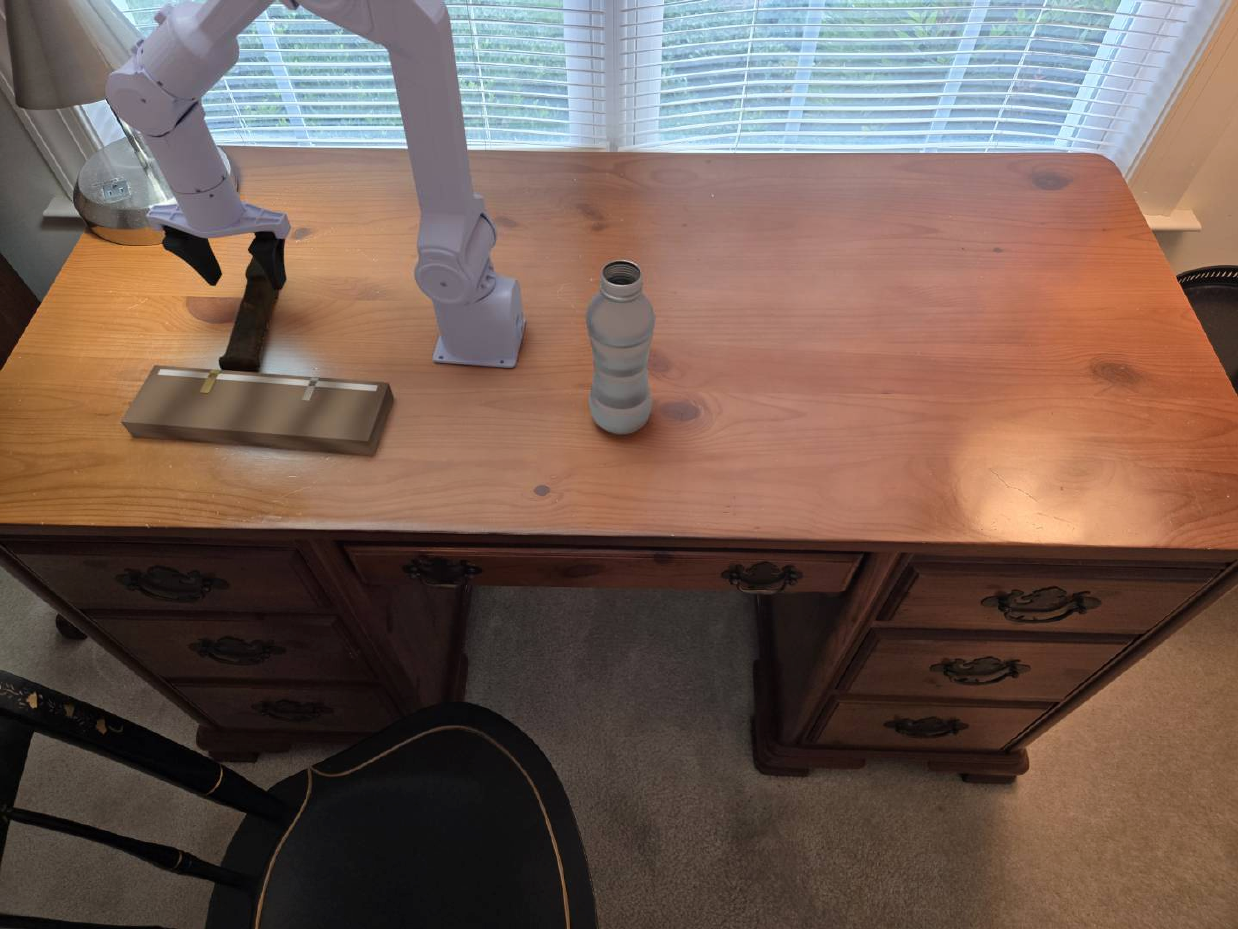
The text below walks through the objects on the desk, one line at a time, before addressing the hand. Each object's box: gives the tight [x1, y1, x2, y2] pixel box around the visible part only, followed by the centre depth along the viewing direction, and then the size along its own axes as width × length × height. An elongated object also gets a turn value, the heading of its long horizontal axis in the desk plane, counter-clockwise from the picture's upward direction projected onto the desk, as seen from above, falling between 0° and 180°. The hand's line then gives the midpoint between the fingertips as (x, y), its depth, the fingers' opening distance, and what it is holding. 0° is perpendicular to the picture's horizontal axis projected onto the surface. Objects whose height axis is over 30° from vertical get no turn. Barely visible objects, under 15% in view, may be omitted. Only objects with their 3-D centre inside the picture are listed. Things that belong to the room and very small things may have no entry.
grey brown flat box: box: [120, 364, 395, 457], centre depth 84 cm, size 26×8×3 cm, turn 85°
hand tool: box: [218, 255, 280, 373], centre depth 92 cm, size 19×4×5 cm, turn 2°
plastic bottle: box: [585, 259, 656, 436], centre depth 77 cm, size 6×7×20 cm
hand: (248, 282), depth 91 cm, fingers open, 7 cm apart
